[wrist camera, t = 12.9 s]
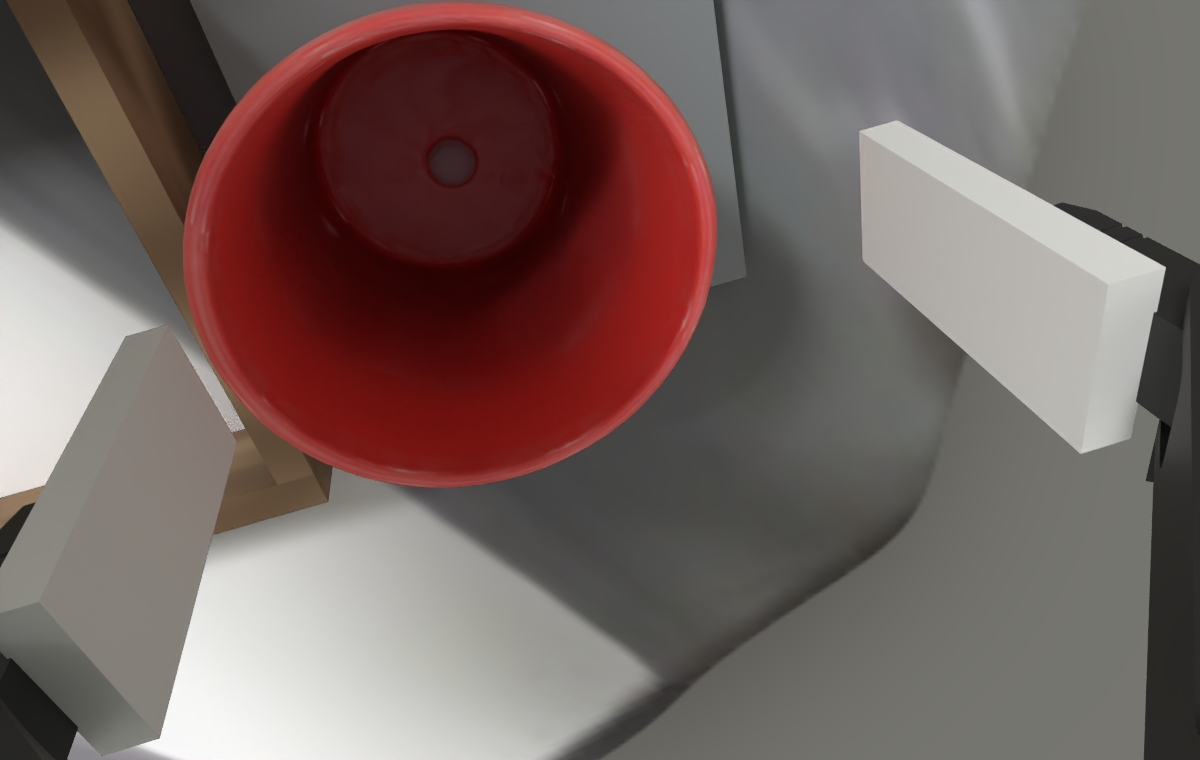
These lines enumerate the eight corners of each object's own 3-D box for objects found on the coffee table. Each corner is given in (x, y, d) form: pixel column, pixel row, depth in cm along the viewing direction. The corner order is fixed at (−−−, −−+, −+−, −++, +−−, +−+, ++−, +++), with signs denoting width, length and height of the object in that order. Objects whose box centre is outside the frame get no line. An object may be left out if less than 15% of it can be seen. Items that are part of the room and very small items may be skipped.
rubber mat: (172, -63, 22) (163, -60, 21) (679, -191, 23) (690, -193, 22) (363, 370, 30) (361, 385, 29) (737, 265, 30) (746, 276, 30)
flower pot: (650, 252, 28) (755, 405, 20) (339, 352, 28) (319, 549, 20) (572, -95, 23) (674, -75, 15) (177, 22, 22) (54, 111, 14)
